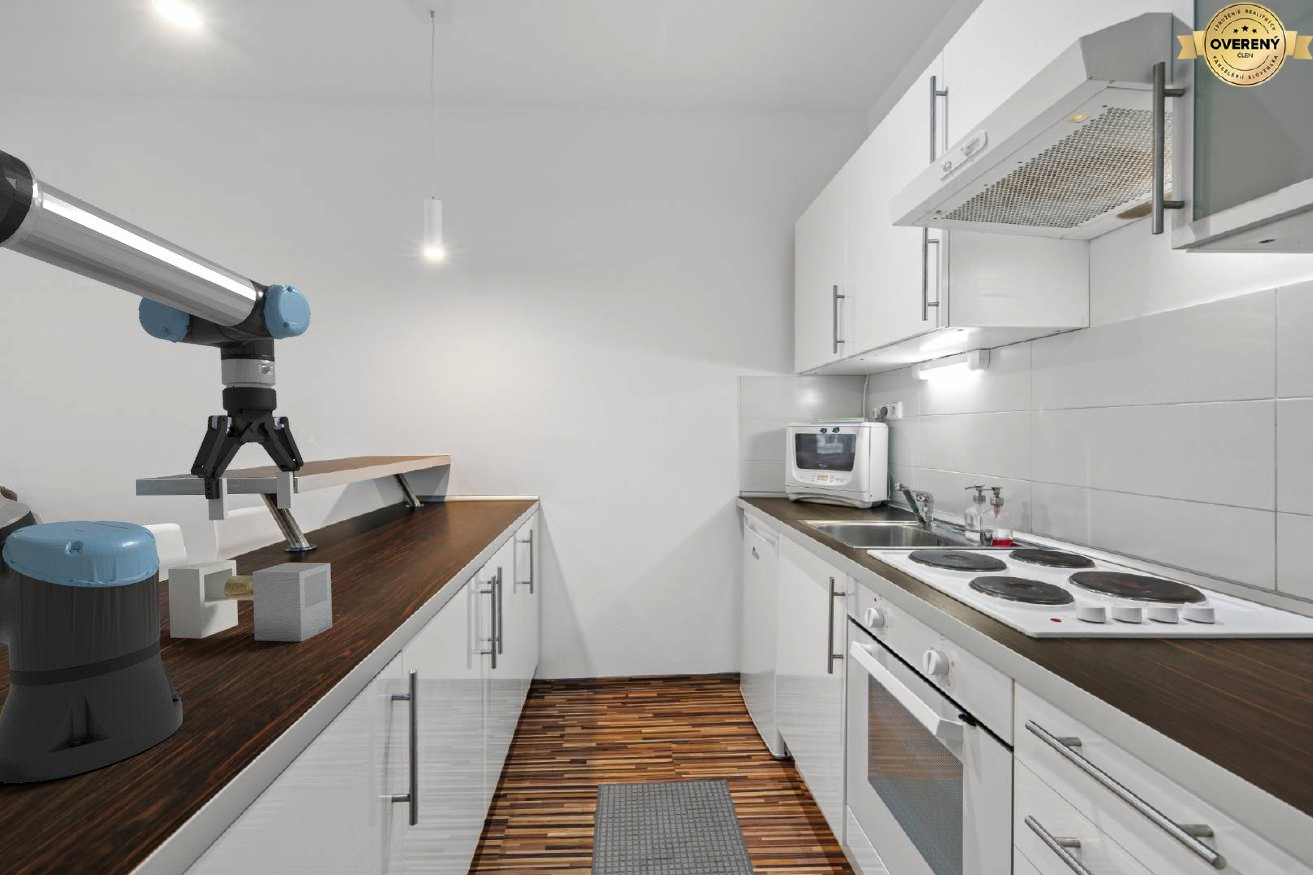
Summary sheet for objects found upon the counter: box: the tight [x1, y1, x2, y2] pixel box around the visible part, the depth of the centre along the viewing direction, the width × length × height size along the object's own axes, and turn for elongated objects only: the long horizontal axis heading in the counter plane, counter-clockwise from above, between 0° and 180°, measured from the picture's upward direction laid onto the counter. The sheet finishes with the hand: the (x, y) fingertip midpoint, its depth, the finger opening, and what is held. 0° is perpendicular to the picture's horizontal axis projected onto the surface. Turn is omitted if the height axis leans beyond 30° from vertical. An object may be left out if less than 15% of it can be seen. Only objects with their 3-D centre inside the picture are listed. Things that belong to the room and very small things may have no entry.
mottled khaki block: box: [224, 574, 254, 601], centre depth 100 cm, size 14×4×4 cm, turn 80°
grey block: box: [252, 562, 333, 643], centre depth 99 cm, size 8×7×11 cm
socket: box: [167, 559, 239, 639], centre depth 102 cm, size 6×7×11 cm
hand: (254, 513), depth 101 cm, fingers open, 13 cm apart
